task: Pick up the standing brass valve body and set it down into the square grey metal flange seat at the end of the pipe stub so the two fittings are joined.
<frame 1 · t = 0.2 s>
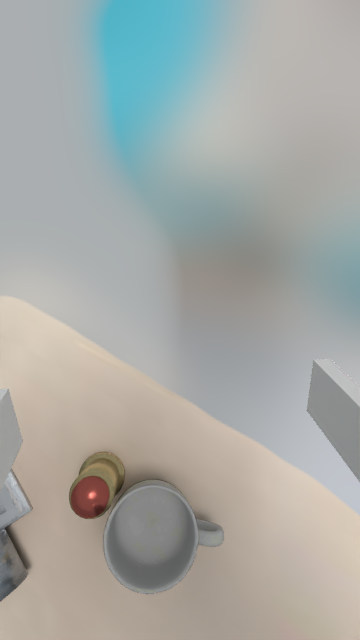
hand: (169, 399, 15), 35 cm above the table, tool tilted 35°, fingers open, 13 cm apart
teacup: (162, 516, 46), on the table
valve: (102, 475, 46), on the table
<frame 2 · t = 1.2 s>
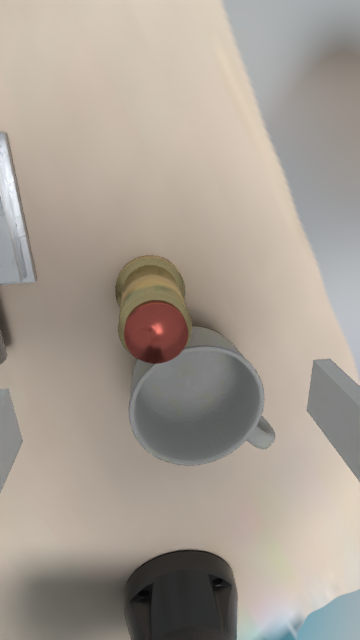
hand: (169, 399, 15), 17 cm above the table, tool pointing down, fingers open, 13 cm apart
teacup: (195, 370, 34), on the table
valve: (150, 288, 30), on the table
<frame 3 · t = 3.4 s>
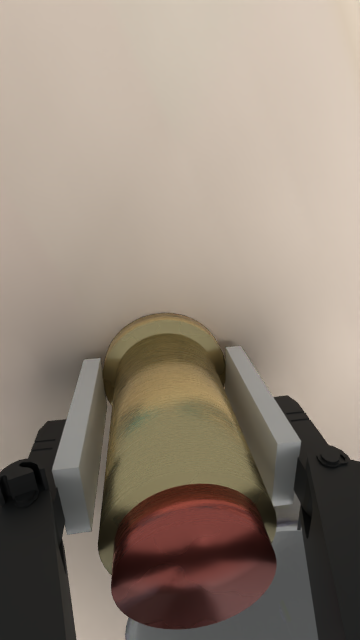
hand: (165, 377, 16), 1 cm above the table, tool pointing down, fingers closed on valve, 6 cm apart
teacup: (234, 483, 21), on the table
valve: (164, 367, 17), on the table, touching gripper
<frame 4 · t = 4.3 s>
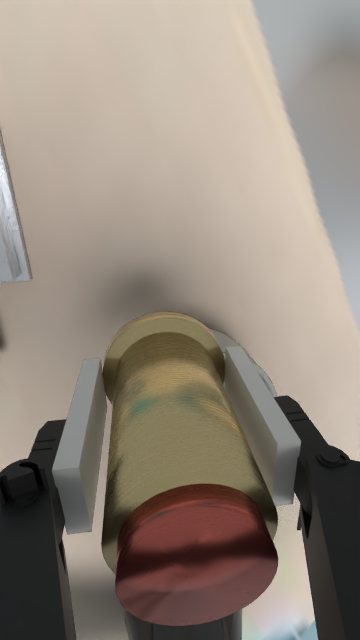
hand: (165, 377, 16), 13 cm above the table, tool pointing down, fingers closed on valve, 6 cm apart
teacup: (202, 374, 32), on the table
valve: (163, 365, 17), point 12 cm above the table, touching gripper
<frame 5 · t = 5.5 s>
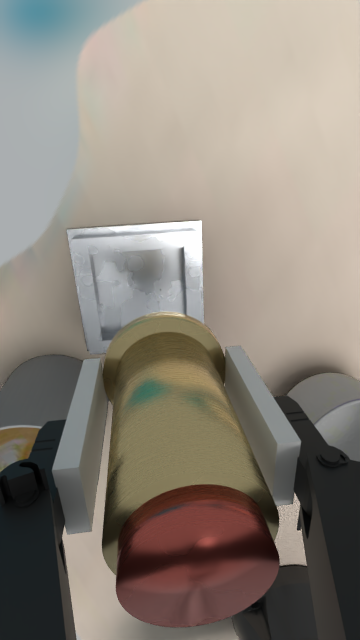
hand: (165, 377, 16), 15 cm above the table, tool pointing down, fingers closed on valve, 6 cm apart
teacup: (321, 407, 38), on the table
flange seat: (141, 287, 30), on the table
coffee mug: (41, 402, 34), on the table
valve: (164, 365, 17), point 14 cm above the table, touching gripper
when the fingers open (4 cm above the table, at t = 8.0 s): valve drops 2 cm, resting on flange seat.
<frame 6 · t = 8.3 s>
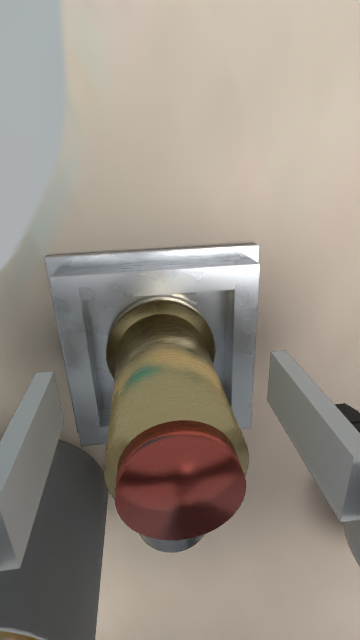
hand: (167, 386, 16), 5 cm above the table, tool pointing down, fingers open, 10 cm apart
flange seat: (160, 342, 20), on the table
coffee mug: (11, 497, 23), on the table
valve: (160, 346, 19), point 1 cm above the table, touching flange seat
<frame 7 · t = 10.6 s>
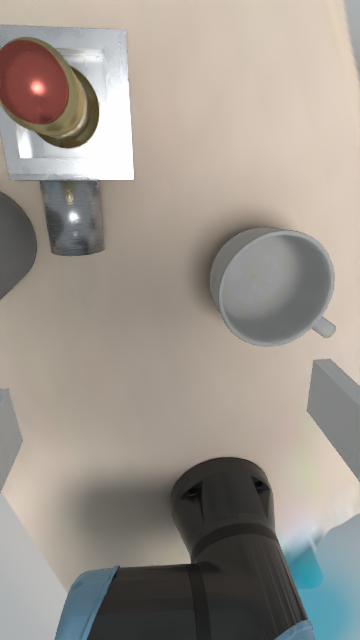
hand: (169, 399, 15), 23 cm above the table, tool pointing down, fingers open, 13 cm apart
teacup: (259, 278, 38), on the table
flange seat: (65, 110, 29), on the table
valve: (63, 108, 29), point 1 cm above the table, touching flange seat
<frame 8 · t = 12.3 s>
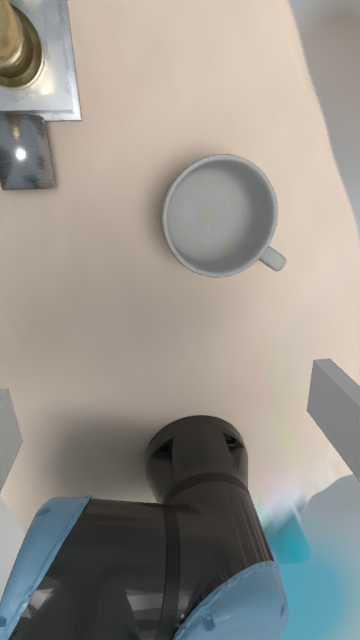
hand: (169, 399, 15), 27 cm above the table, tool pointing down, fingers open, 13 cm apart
teacup: (214, 222, 39), on the table
flange seat: (10, 51, 31), on the table
valve: (8, 48, 30), point 1 cm above the table, touching flange seat
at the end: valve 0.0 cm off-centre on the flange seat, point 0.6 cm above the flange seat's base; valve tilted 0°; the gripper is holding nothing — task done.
